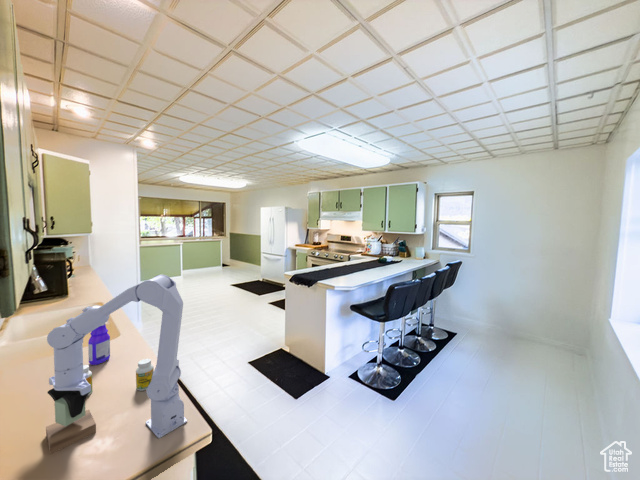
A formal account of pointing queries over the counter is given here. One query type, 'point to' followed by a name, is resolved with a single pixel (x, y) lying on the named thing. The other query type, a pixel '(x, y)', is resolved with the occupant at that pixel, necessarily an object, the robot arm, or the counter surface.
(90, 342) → the bottle
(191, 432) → the counter surface
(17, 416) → the counter surface
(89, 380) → the supplement bottle
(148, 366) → the supplement bottle
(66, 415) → the sage block
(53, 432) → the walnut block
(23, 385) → the counter surface
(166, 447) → the counter surface
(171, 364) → the robot arm
